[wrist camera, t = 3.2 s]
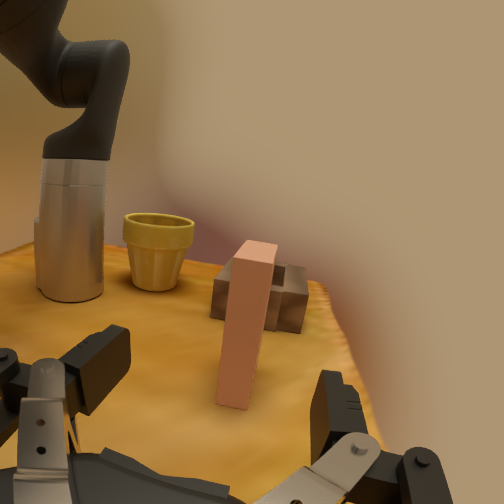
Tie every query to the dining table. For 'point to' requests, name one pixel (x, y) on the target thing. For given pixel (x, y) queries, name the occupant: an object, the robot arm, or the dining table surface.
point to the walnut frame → (270, 297)
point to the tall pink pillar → (244, 321)
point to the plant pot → (156, 248)
